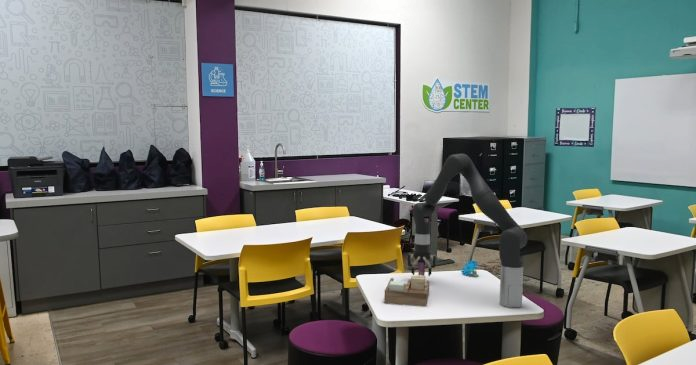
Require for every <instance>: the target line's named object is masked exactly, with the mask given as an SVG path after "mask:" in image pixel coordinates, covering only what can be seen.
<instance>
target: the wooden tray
mask: <svg viewBox="0 0 696 365" xmlns="http://www.w3.org/2000/svg"><path fill="white" fill-rule="evenodd" d="M394 280H395V279H394V277H390V279H389V281H388V283H387V286H386V287H385V289H384V302H383V303H384V304H390V303H393V305H403V304H405V305H406V306H417V307H419V306H420V307H427V304H428V299H429V294H430V280H429V279H427V280H426V281H425V289H424V290H418V289H411V278H408V279H407V283H405V284H404V291H393V290H389V284H390V282H391V281H394Z"/></svg>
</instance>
